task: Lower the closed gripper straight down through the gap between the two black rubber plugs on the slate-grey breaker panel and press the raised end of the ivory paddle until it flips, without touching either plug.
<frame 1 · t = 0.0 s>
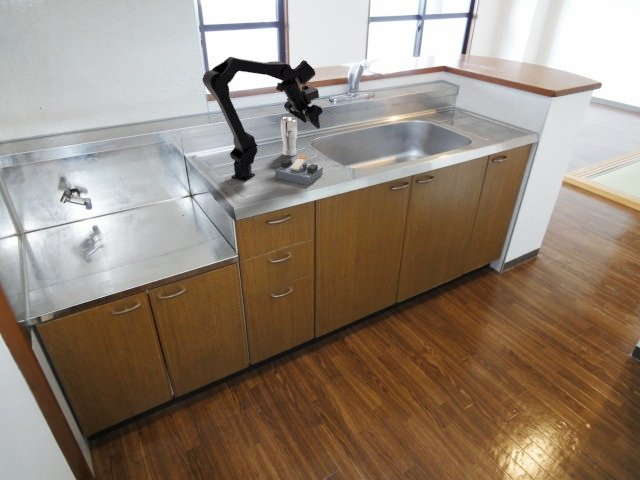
hand: (312, 125, 168), 15 cm above the table, tool tilted 35°, fingers open, 9 cm apart
plug right: (312, 171, 158), point 3 cm above the table, touching breaker panel
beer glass: (289, 154, 182), on the table
breaker paddle: (299, 162, 159), point 5 cm above the table, hinge at -18.0°
plug left: (286, 165, 162), point 3 cm above the table, touching breaker panel
breaker panel: (299, 175, 162), on the table
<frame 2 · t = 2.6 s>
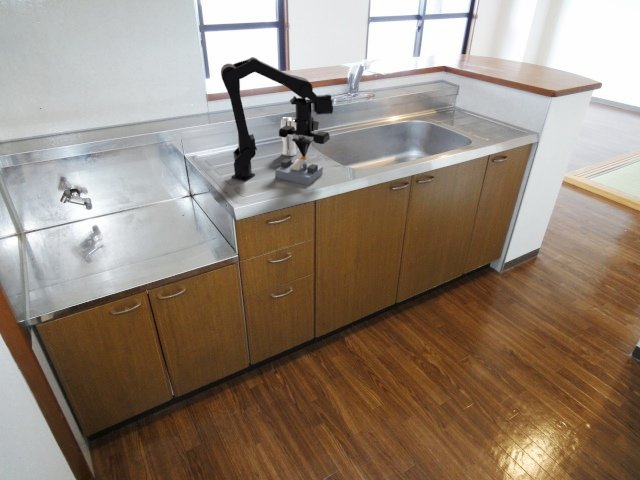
hand: (304, 156, 161), 6 cm above the table, tool pointing down, fingers closed, pressing on breaker paddle
breaker paddle: (299, 162, 159), point 5 cm above the table, hinge at -14.3°, touching gripper
everything else where it was.
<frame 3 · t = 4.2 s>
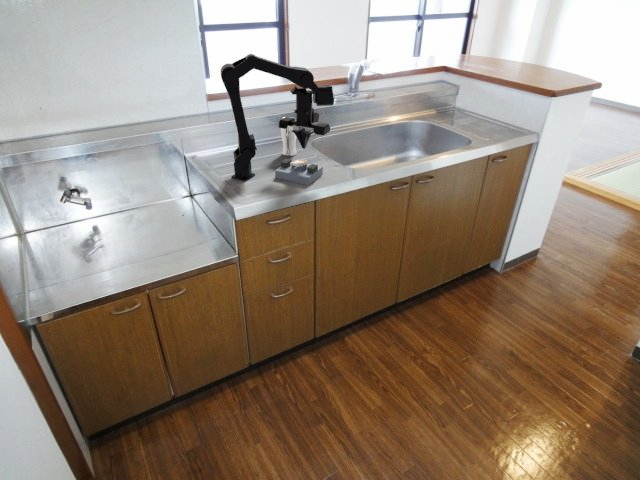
hand: (304, 148, 159), 10 cm above the table, tool pointing down, fingers closed
breaker paddle: (299, 162, 159), point 5 cm above the table, hinge at 9.7°
everything else where it was.
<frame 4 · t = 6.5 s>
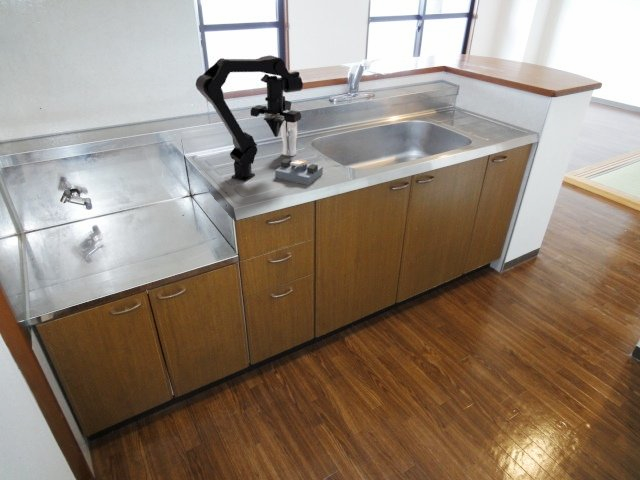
hand: (276, 136, 160), 13 cm above the table, tool pointing down, fingers closed
breaker paddle: (299, 162, 159), point 5 cm above the table, hinge at 10.5°
everything else where it was.
at the end: breaker paddle at +10° (first picture: -18°); plug left moved 0.0 cm from its start; plug right moved 0.0 cm from its start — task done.
